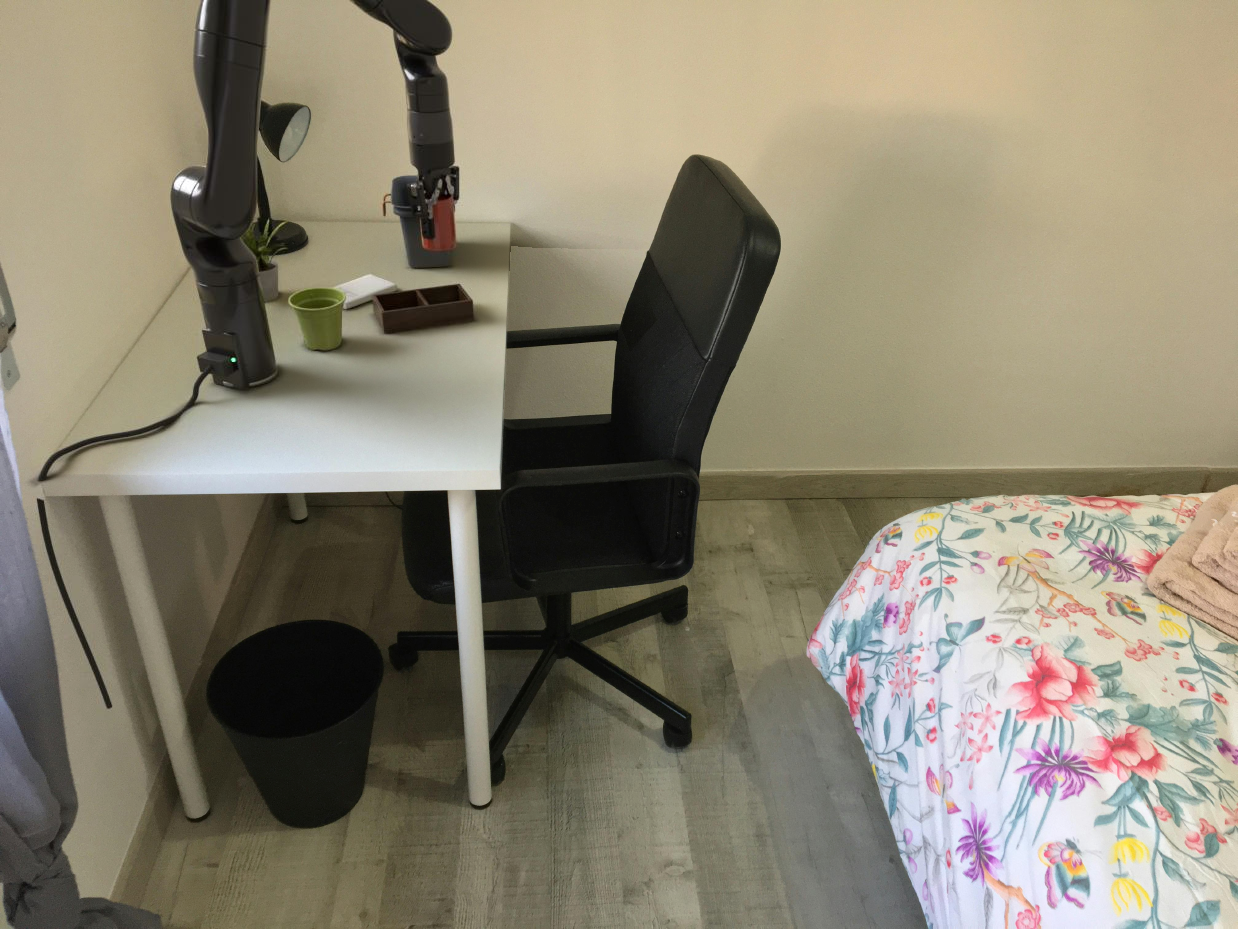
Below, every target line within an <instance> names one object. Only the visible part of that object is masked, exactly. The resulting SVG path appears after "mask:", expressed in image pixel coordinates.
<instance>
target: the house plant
mask: <svg viewBox="0 0 1238 929" xmlns="http://www.w3.org/2000/svg"><path fill="white" fill-rule="evenodd" d="M288 222H289V220H287V221H284V222H282V223H280V224H279V225H277V226H276V227H275V229H274V230H273V231H272V232H271V234H270V235H269V236H268V234H269V233H270V232H268V231H269V226H270V218H268V219H267V221H266V224H265V227H264V231H263V234H262V235H261V236H260V237H259V238H258V242H257V243H256V239H255V233H254V227H255V225H256V224H257V222H255V223H254V222H253V223H252V225H251V227H250V228H249V230H248V231H247V232H246V233H245V234H244V235H243V236H241V239H242V241H243V242H244V244H245V245H246V246H247V247H248V248H249V249H250V251H251V252H252V253H253V254H254V255H255V257H256V260H257V264H258V269H259V275H260V281H261V286H262V292H263V297H264V302H269V301H273V300H276V299H277V298H278V297H279V263H278V262H277V261H275V260H272V259H273V258H274V256H275V255H276V254H277V253H278V252H280V251H282V250H288V247H285V246H286V245H285V244H271V245H269V243H270V241H271V239H272V238H273V237H274V235H275V234H276V233H277V232H278V230H279V229H280V227H281V226H283V225H285V224H286V223H288ZM281 246H282V247H281ZM278 247H280V248H279V249H277V250H275V252H274V253H272V256H271V258H270V254H271V252H272V251H273V250H274V249H275V248H278Z"/></svg>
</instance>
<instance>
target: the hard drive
mask: <svg viewBox="0 0 1238 929" xmlns="http://www.w3.org/2000/svg"><path fill="white" fill-rule="evenodd" d="M332 288H334V289H338V290H340V291H342V292H344V293H345V295H346V300H345V302H344V306H343V309H344V310H348V309H351V308H354V307H356V306H358V305H362V304H365V303H367V302H369V301H372V295H375V294H383V293H391V292H397V291H398V290H397V284H396V283H395V282H392V281H389V280H386V279H383V278H381V277H380V276H379V277H378V276H377V275H374V274H371V273H369V274H366V275H364V276H360V277H359V278H356V279H353V280H349V281H347V282H344V283H341V284H339V285H336V286H333V287H332ZM343 309H342V310H343Z"/></svg>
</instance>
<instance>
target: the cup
mask: <svg viewBox="0 0 1238 929" xmlns="http://www.w3.org/2000/svg"><path fill="white" fill-rule="evenodd" d="M425 199H427V200H431V199H432V198H427V197H426V196H425ZM426 207H427V211H428V208H429V205H428V204H426ZM455 214H456V212H455V213H454V198H453V194H452V193H451V194H450V197H449V198H448V199H447V198H446V197H439V198H438V201H437V205H436V206H434V214H433V218H434V228H435V238H434V239H432V240H430V239H424V238H423V237H422V243H423V247H424V248H425V249H427V250H431V251H446V250H450V251H451V250H453V249H455V248H456V247H457V230H456V229H457V228H456V215H455ZM420 224H421V220H420ZM421 236H422V230H421Z"/></svg>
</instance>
